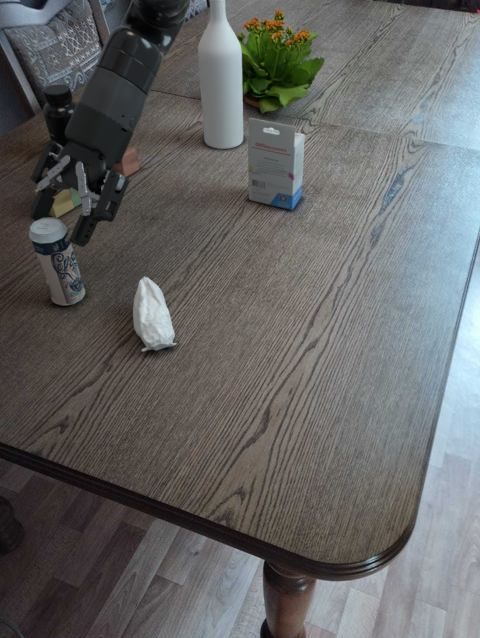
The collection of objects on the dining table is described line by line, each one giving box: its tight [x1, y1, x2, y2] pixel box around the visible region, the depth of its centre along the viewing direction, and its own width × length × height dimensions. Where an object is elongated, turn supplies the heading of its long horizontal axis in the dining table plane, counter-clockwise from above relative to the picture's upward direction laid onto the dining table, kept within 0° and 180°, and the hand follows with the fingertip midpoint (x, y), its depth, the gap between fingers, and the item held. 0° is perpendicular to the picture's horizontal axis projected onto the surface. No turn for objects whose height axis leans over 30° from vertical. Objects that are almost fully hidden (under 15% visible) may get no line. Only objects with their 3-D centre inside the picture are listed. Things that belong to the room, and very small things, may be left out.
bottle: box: [197, 0, 244, 150], centre depth 102 cm, size 8×8×30 cm
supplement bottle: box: [42, 83, 78, 147], centre depth 105 cm, size 7×7×12 cm
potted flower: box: [236, 9, 326, 115], centre depth 121 cm, size 25×24×18 cm
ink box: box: [247, 117, 306, 211], centre depth 92 cm, size 8×5×15 cm, turn 66°
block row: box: [33, 145, 140, 219], centre depth 98 cm, size 4×20×4 cm, turn 146°
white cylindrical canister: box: [28, 216, 86, 306], centre depth 75 cm, size 5×5×12 cm
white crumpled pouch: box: [132, 275, 177, 353], centre depth 73 cm, size 5×7×10 cm
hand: (56, 232), depth 72 cm, fingers open, 8 cm apart
